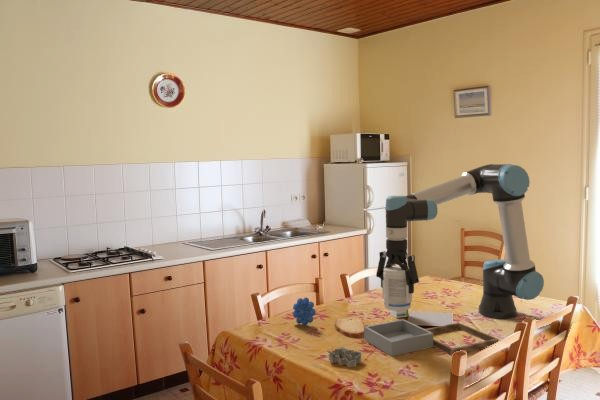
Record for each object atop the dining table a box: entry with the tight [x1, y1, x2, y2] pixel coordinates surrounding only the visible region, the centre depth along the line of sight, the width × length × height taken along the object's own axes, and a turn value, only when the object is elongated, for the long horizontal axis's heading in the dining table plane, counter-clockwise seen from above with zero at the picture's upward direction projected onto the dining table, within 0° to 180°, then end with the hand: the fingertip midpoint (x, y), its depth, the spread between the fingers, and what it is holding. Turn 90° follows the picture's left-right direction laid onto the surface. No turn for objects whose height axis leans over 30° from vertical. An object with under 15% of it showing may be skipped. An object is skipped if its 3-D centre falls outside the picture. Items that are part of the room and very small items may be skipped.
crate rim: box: [424, 322, 499, 356], centre depth 189 cm, size 21×21×2 cm
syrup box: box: [389, 309, 409, 319], centre depth 219 cm, size 6×6×14 cm
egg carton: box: [327, 346, 363, 368], centre depth 173 cm, size 11×8×4 cm
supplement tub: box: [383, 265, 412, 311], centre depth 186 cm, size 10×10×15 cm
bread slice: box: [334, 315, 365, 339], centre depth 205 cm, size 18×18×4 cm
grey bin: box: [363, 318, 434, 357], centre depth 188 cm, size 18×18×5 cm
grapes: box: [292, 297, 316, 326], centre depth 211 cm, size 12×7×12 cm, turn 51°
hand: (397, 299), depth 187 cm, fingers closed on supplement tub, 10 cm apart
